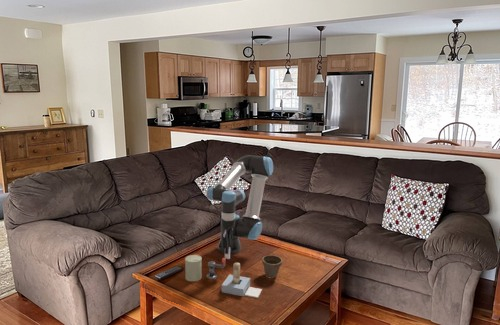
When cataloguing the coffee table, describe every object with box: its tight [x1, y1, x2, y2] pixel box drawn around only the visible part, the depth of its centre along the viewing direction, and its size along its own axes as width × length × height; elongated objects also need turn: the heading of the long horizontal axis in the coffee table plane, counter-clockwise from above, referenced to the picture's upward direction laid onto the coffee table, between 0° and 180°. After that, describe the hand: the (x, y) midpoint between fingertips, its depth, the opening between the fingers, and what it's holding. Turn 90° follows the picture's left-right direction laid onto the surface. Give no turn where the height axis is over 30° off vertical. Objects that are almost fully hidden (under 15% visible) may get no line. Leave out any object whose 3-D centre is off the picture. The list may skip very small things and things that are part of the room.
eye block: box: [221, 273, 251, 297], centre depth 199 cm, size 12×12×4 cm
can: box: [184, 254, 203, 282], centre depth 208 cm, size 9×9×12 cm
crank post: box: [205, 267, 218, 280], centre depth 210 cm, size 6×6×6 cm
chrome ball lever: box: [207, 257, 226, 269], centre depth 208 cm, size 4×10×6 cm, turn 73°
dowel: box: [232, 262, 241, 285], centre depth 198 cm, size 4×4×14 cm
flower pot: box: [261, 254, 283, 279], centre depth 213 cm, size 12×11×10 cm
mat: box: [244, 286, 263, 299], centre depth 196 cm, size 8×7×1 cm
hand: (227, 258), depth 212 cm, fingers closed
